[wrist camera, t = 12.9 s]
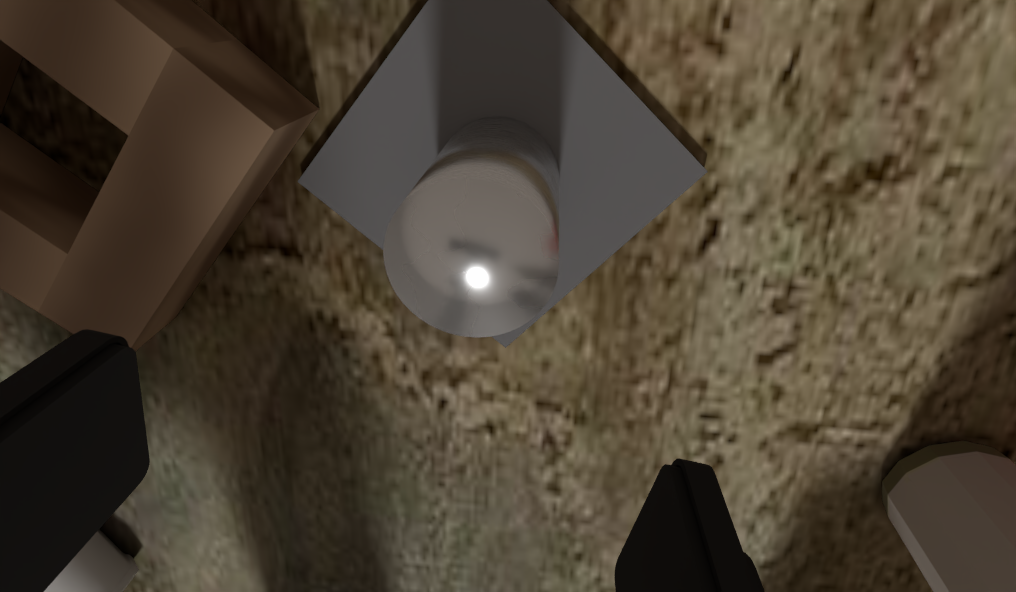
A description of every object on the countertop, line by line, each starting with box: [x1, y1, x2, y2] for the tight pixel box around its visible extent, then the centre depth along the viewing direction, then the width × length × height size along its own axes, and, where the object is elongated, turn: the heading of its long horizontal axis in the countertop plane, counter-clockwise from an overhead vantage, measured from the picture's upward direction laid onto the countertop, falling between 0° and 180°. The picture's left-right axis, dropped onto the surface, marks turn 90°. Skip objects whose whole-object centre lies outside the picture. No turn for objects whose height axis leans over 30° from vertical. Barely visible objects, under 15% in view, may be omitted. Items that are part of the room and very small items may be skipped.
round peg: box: [384, 116, 559, 337], centre depth 19 cm, size 5×5×8 cm
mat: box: [298, 0, 707, 348], centre depth 22 cm, size 12×12×1 cm
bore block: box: [0, 0, 319, 351], centre depth 21 cm, size 14×14×4 cm
